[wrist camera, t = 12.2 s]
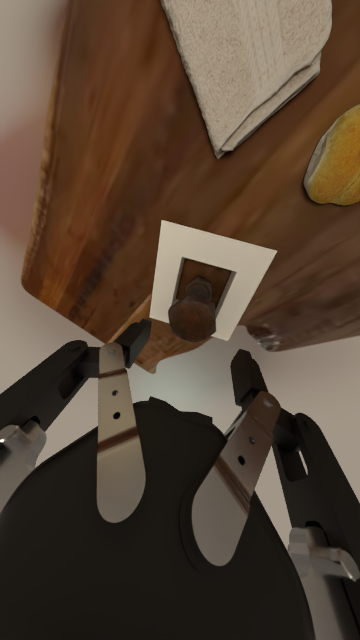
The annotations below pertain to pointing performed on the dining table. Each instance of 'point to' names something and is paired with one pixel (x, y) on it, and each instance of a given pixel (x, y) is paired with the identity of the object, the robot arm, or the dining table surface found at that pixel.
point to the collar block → (215, 251)
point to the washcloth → (247, 58)
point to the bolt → (194, 312)
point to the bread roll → (337, 163)
